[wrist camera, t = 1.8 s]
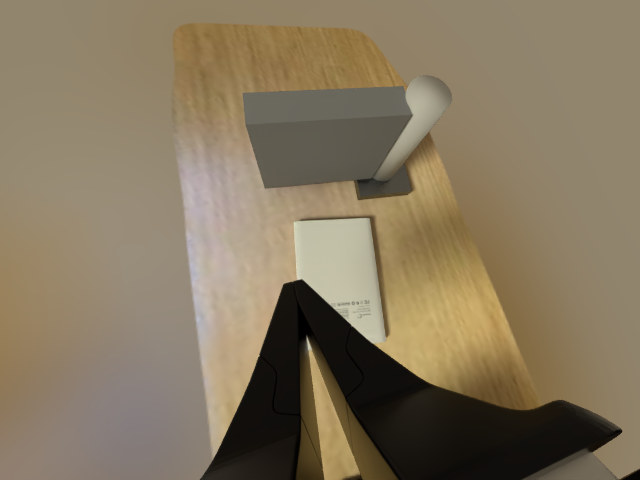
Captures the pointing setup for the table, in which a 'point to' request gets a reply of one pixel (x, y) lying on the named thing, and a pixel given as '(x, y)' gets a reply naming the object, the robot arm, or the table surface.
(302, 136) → the swing arm
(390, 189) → the arm mount
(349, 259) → the external hard drive
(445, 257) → the table surface
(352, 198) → the table surface
